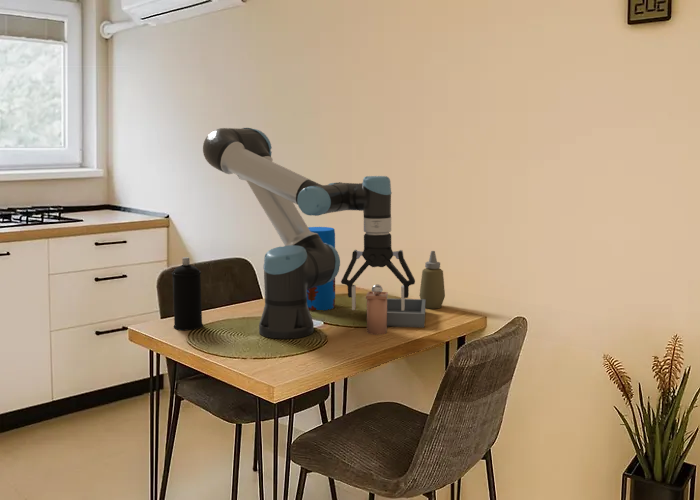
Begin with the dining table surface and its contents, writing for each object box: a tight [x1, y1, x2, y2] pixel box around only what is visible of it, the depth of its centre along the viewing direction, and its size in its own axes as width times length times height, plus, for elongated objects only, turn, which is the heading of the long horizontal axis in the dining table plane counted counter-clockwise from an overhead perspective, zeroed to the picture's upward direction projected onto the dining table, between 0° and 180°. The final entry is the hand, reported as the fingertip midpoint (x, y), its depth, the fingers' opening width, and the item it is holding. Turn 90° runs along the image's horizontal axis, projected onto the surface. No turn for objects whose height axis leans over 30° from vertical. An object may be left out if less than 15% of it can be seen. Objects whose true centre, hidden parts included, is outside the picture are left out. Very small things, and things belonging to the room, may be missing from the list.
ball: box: [371, 284, 384, 295], centre depth 199 cm, size 3×3×3 cm
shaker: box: [365, 291, 389, 336], centre depth 200 cm, size 6×6×11 cm
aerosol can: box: [171, 256, 204, 331], centre depth 205 cm, size 8×8×20 cm
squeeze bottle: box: [419, 250, 446, 310], centre depth 228 cm, size 8×8×18 cm
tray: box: [387, 297, 426, 328], centre depth 215 cm, size 16×18×4 cm
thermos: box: [307, 226, 336, 311], centre depth 228 cm, size 11×11×25 cm
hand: (378, 309), depth 200 cm, fingers open, 13 cm apart
